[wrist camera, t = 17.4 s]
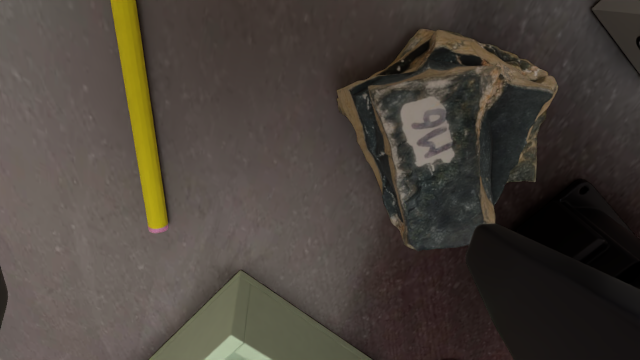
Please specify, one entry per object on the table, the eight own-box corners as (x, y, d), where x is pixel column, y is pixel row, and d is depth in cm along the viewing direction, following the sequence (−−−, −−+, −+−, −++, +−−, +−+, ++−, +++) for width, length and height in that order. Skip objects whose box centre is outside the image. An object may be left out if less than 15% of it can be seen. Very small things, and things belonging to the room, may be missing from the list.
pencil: (170, 223, 23) (166, 232, 23) (152, 223, 23) (146, 233, 23) (116, -154, 17) (107, -162, 16) (89, -155, 17) (78, -163, 16)
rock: (522, 170, 24) (588, 223, 19) (353, 205, 24) (374, 267, 19) (523, 2, 20) (607, 11, 15) (325, 44, 20) (340, 67, 15)
